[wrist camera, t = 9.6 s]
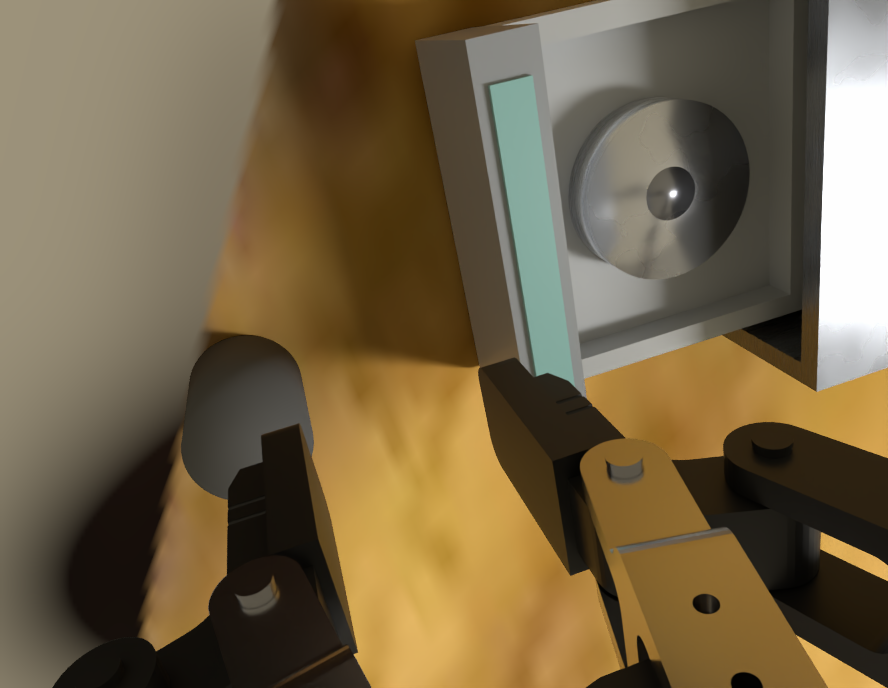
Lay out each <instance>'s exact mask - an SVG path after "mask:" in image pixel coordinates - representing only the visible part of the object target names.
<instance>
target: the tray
mask: <svg viewBox="0 0 888 688" xmlns="http://www.w3.org/2000/svg"><path fill="white" fill-rule="evenodd" d="M415 44H416V49H417V54H418V59H419V64H420V69H421V74H422V79H423V85H424V90H425V95H426V100H427V105H428V110H429V115H430V120H431V125H432V130H433V135H434V140H435V145H436V150H437V155H438V160H439V165H440V170H441V175H442V180H443V185H444V190H445V195H446V200H447V205H448V210H449V215H450V220H451V225H452V230H453V235H454V240H455V245H456V250H457V256H458V261H459V266H460V271H461V276H462V281H463V286H464V291H465V296H466V301H467V306H468V311H469V316H470V321H471V326H472V331H473V336H474V341H475V346H476V351H477V356H478V361H479V366H480V368H481V367H484V366H488V365H491V364H494V363H497V362H501V361H504V360H507V359H510V358H514V357H515V358H517V359H518V360H519V362H520V363H521V364H522V365H523V366H524V367H525V368H526V369H527V370H528V372H529V373H530V374H531V375H532V376H533V377H536V376H539V375H542V374H545V373H550V374H552V375H555V376H557V377H560V378H563V379H565V380H568V381H569V382H570V383H571V384H572V385H573V386H574V387H575V388H576V389H577V390H578V391H579V392H580V393H581V394H582V397H583V396H584V397H585V398H586V390H585V382H584V379H585V378H588V377H591V376H594V375H597V374H600V373H604V372H607V371H610V370H613V369H616V368H619V367H622V366H626V365H629V364H632V363H635V362H638V361H641V360H644V359H648V358H651V357H654V356H657V355H660V354H663V353H666V352H670V351H673V350H676V349H679V348H682V347H685V346H688V345H692V344H695V343H698V342H701V341H704V340H707V339H710V338H714V337H717V336H720V335H723V334H726V333H729V332H732V331H736V330H739V329H742V328H745V327H748V326H751V325H754V324H757V323H761V322H764V321H767V320H770V319H773V318H776V317H779V316H783V315H786V314H789V313H792V312H795V311H798V310H801V309H802V292H803V242H804V193H805V143H806V94H807V44H808V0H595V1H591V2H587V3H582V4H578V5H574V6H569V7H565V8H560V9H556V10H552V11H547V12H543V13H539V14H534V15H530V16H525V17H521V18H517V19H512V20H508V21H504V22H499V23H495V24H490V25H486V26H482V27H472V28H468V29H463V30H459V31H455V32H450V33H446V34H441V35H437V36H433V37H428V38H424V39H419V40H415ZM647 97H669V98H677V99H685V100H693V101H699V102H702V103H705V104H708V105H710V106H712V107H714V108H716V109H718V110H719V111H721V112H722V113H723V114H725V115H726V116H727V117H728V118H729V119H730V120H731V121H732V122H733V124H734V125H735V126H736V128H737V129H738V131H739V133H740V135H741V137H742V139H743V141H744V144H745V147H746V150H747V154H748V159H749V169H750V177H749V188H748V194H747V198H746V202H745V206H744V209H743V211H742V214H741V216H740V219H739V221H738V222H737V224H736V226H735V228H734V230H733V231H732V233H731V234H730V236H729V238H728V239H727V240H726V241H725V243H724V244H723V245H722V246H721V247H720V248H719V249H718V250H717V251H716V253H715V254H714V255H712V256H711V257H710V258H709V259H708V260H706V261H705V262H704V263H702V264H701V265H699V266H698V267H696V268H694V269H692V270H690V271H688V272H686V273H684V274H681V275H678V276H676V277H671V278H667V279H657V280H653V279H643V278H638V277H634V276H632V275H629V274H627V273H625V272H623V271H621V270H620V269H618V268H616V267H615V266H613V265H611V264H609V263H608V262H606V261H604V260H603V259H601V258H599V257H598V256H596V255H595V254H594V253H593V252H591V251H590V250H589V249H588V248H587V246H586V245H585V244H584V243H583V242H582V240H581V239H580V237H579V236H578V234H577V232H576V229H575V227H574V225H573V222H572V219H571V215H570V209H569V198H568V193H569V182H570V176H571V171H572V168H573V165H574V162H575V159H576V157H577V155H578V152H579V150H580V148H581V146H582V145H583V143H584V141H585V140H586V138H587V137H588V135H589V134H590V133H591V131H592V130H593V129H594V128H595V127H596V126H597V125H598V124H599V122H600V121H601V120H603V119H604V118H605V117H606V116H607V115H609V114H610V113H611V112H613V111H614V110H616V109H617V108H619V107H621V106H623V105H625V104H627V103H629V102H631V101H635V100H638V99H641V98H647ZM586 399H587V398H586Z"/></svg>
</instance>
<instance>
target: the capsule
mask: <svg viewBox="0 0 888 688" xmlns="http://www.w3.org/2000/svg"><path fill="white" fill-rule="evenodd" d="M298 423H299V424H300V425H301V428H302V430H303V433H304V436H305V439H306V442H307V445H308V448H309V451H310V454H311V457H312V452H313V444H314V440H313V432H312V427H311V422H310V417H309V412H308V407H307V402H306V397H305V392H304V387H303V382H302V377H301V373H300V370H299V367H298V365H297V363H296V361H295V359H294V358H293V357H292V355H291V354H290V353H289V352H288V351H287V350H286V349H285V348H283V347H282V346H281V345H279V344H277V343H276V342H274V341H271V340H269V339H266V338H263V337H258V336H246V335H244V336H235V337H231V338H228V339H225V340H222V341H220V342H218V343H216V344H214V345H213V346H211V347H210V348H208V349H207V350H206V351H205V352H204V353H203V354H202V355H201V356H200V357H199V359H198V360H197V362H196V363H195V365H194V367H193V370H192V373H191V376H190V382H189V390H188V398H187V405H186V413H185V420H184V428H183V436H182V443H181V453H182V459H183V462H184V465H185V468H186V470H187V472H188V474H189V475H190V476H191V478H192V479H193V480H194V481H195V482H196V483H197V484H198V485H199V486H200V487H201V488H203V489H204V490H206V491H207V492H209V493H211V494H213V495H215V496H217V497H220V498H223V499H227V500H228V488H229V486H230V485H231V483H232V481H233V480H234V478H235V476H236V475H237V473H238V471H239V470H240V469H242V468H245V467H248V466H251V465H254V464H258V463H261V462H263V461H262V447H261V435H262V434H266V433H269V432H272V431H275V430H279V429H282V428H285V427H288V426H292V425H295V424H298Z"/></svg>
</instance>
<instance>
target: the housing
mask: <svg viewBox="0 0 888 688" xmlns="http://www.w3.org/2000/svg"><path fill="white" fill-rule="evenodd" d="M723 336H725V337H726V338H728V339H730V340H731V341H733V342H735V343H736V344H738V345H740V346H741V347H743V348H745V349H746V350H748V351H750V352H751V353H753V354H755V355H756V356H758V357H760V358H761V359H763V360H765V361H766V362H768V363H770V364H771V365H773V366H775V367H776V368H778V369H780V370H781V371H783V372H785V373H786V374H788V375H790V376H791V377H793V378H795V379H796V380H798V381H800V382H801V383H803V384H805V385H806V386H808V387H810V388H811V389H813V390H815V391H816V392H817V391H820V390H823V389H826V388H829V387H832V386H835V385H838V384H841V383H844V382H847V381H849V380H852V379H855V378H858V377H861V376H864V375H867V374H870V373H873V372H876V371H879V370H882V369H885V368H888V0H808V44H807V94H806V143H805V193H804V242H803V292H802V309H801V310H798V311H795V312H792V313H789V314H786V315H783V316H779V317H776V318H773V319H770V320H767V321H764V322H761V323H757V324H754V325H751V326H748V327H745V328H742V329H739V330H736V331H732V332H729V333H726V334H723Z"/></svg>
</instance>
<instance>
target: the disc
mask: <svg viewBox="0 0 888 688" xmlns="http://www.w3.org/2000/svg"><path fill="white" fill-rule="evenodd" d="M749 177H750V169H749V159H748V154H747V150H746V147H745V144H744V141H743V139H742V137H741V135H740V133H739V131H738V129H737V128H736V126H735V125H734V124H733V122H732V121H731V120H730V119H729V118H728V117H727V116H726V115H725V114H723V113H722V112H721V111H719V110H718V109H716V108H714V107H712V106H710V105H708V104H705V103H702V102H699V101H693V100H685V99H677V98H669V97H647V98H641V99H638V100H635V101H631V102H629V103H627V104H625V105H623V106H621V107H619V108H617V109H616V110H614V111H613V112H611V113H610V114H609V115H607V116H606V117H605V118H604V119H603V120H601V121H600V122H599V124H598V125H597V126H596V127H595V128H594V129H593V130H592V131H591V133H590V134H589V135H588V137H587V138H586V140H585V141H584V143H583V145H582V146H581V148H580V150H579V152H578V155H577V157H576V159H575V162H574V165H573V168H572V171H571V176H570V182H569V193H568V198H569V209H570V215H571V219H572V222H573V225H574V227H575V229H576V232H577V234H578V236H579V237H580V239H581V240H582V242H583V243H584V244H585V245H586V246H587V248H588V249H589V250H590V251H591V252H593V253H594V254H595V255H596V256H598V257H599V258H601V259H603V260H604V261H606V262H608V263H609V264H611V265H613V266H615V267H616V268H618V269H620V270H621V271H623V272H625V273H627V274H629V275H632V276H634V277H638V278H643V279H653V280H657V279H667V278H671V277H676V276H678V275H681V274H684V273H686V272H688V271H690V270H692V269H694V268H696V267H698V266H699V265H701V264H702V263H704V262H705V261H706V260H708V259H709V258H710V257H711V256H712V255H714V254H715V253H716V251H717V250H718V249H719V248H720V247H721V246H722V245H723V244H724V243H725V241H726V240H727V239H728V238H729V236H730V234H731V233H732V231H733V230H734V228H735V226H736V224H737V222H738V221H739V219H740V216H741V214H742V211H743V209H744V206H745V202H746V198H747V194H748V188H749Z"/></svg>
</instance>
